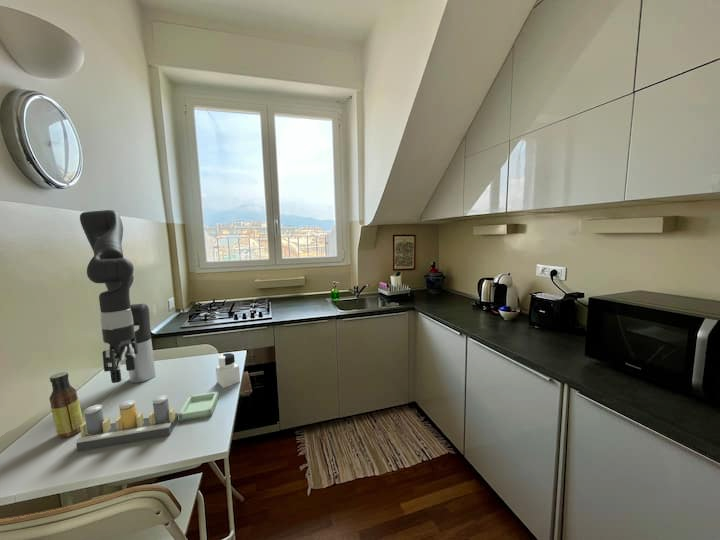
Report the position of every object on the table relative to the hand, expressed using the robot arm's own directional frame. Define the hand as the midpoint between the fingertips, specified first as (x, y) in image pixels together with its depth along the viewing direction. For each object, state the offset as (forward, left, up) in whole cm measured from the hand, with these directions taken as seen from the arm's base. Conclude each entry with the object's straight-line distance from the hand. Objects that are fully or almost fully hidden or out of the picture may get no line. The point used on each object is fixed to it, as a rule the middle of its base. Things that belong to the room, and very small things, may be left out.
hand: (124, 375), depth 91 cm
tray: (-9, +17, -19) cm, 27 cm away
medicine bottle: (-27, +24, -20) cm, 41 cm away
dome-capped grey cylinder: (0, -9, -17) cm, 19 cm away
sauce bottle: (-7, -20, -20) cm, 29 cm away
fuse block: (0, 0, -19) cm, 19 cm away
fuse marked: (0, 0, -17) cm, 17 cm away
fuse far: (0, +9, -17) cm, 19 cm away
